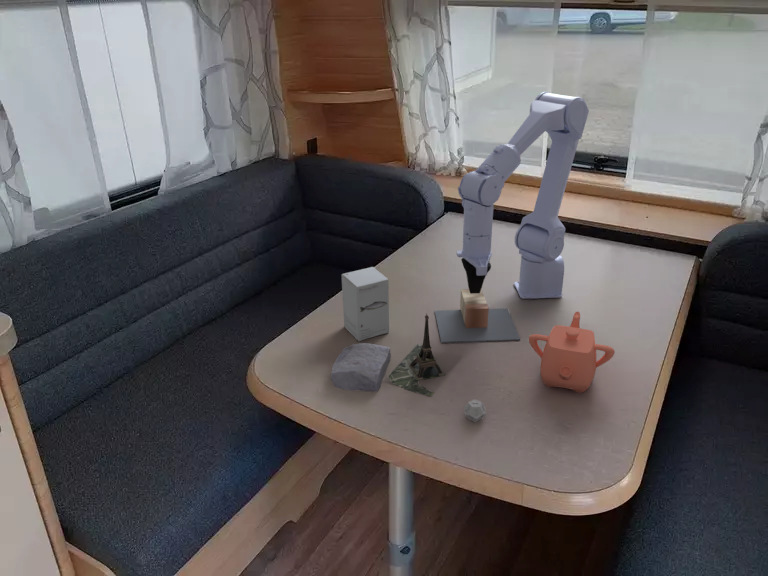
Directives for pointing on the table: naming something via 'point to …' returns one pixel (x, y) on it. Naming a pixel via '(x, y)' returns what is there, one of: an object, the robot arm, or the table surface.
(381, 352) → the stone block
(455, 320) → the mat
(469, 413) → the game die
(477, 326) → the tall block
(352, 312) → the supplement box
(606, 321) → the table surface
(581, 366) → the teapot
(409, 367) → the eiffel tower figurine
